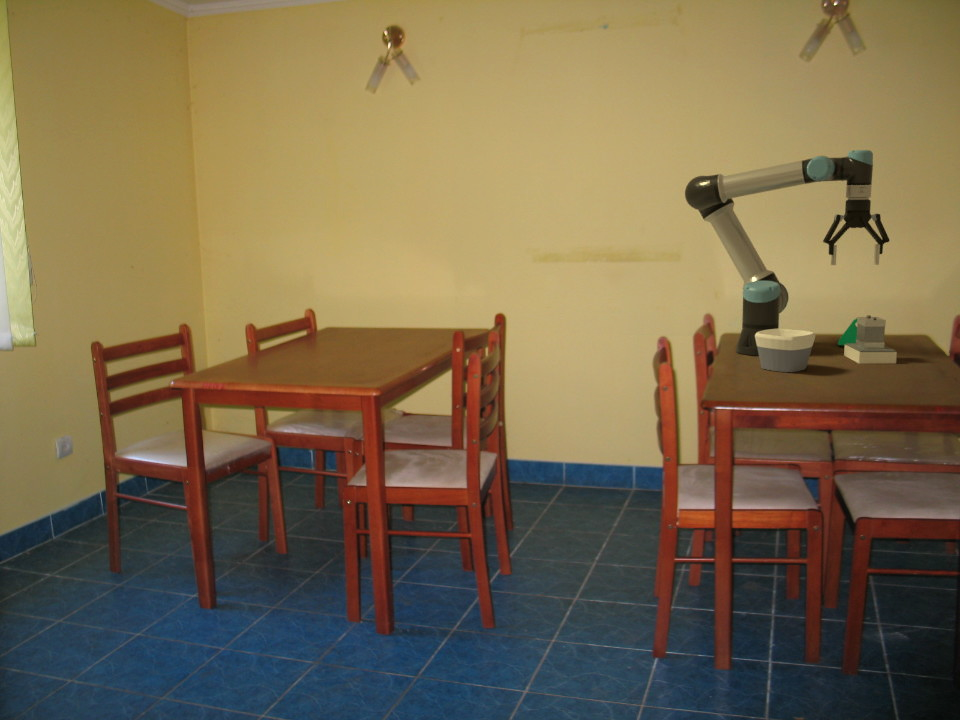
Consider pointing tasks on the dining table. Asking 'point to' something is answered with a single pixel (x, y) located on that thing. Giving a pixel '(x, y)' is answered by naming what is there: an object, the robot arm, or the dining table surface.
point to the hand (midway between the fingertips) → (854, 264)
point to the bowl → (784, 349)
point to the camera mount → (849, 334)
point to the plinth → (870, 354)
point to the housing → (870, 332)
